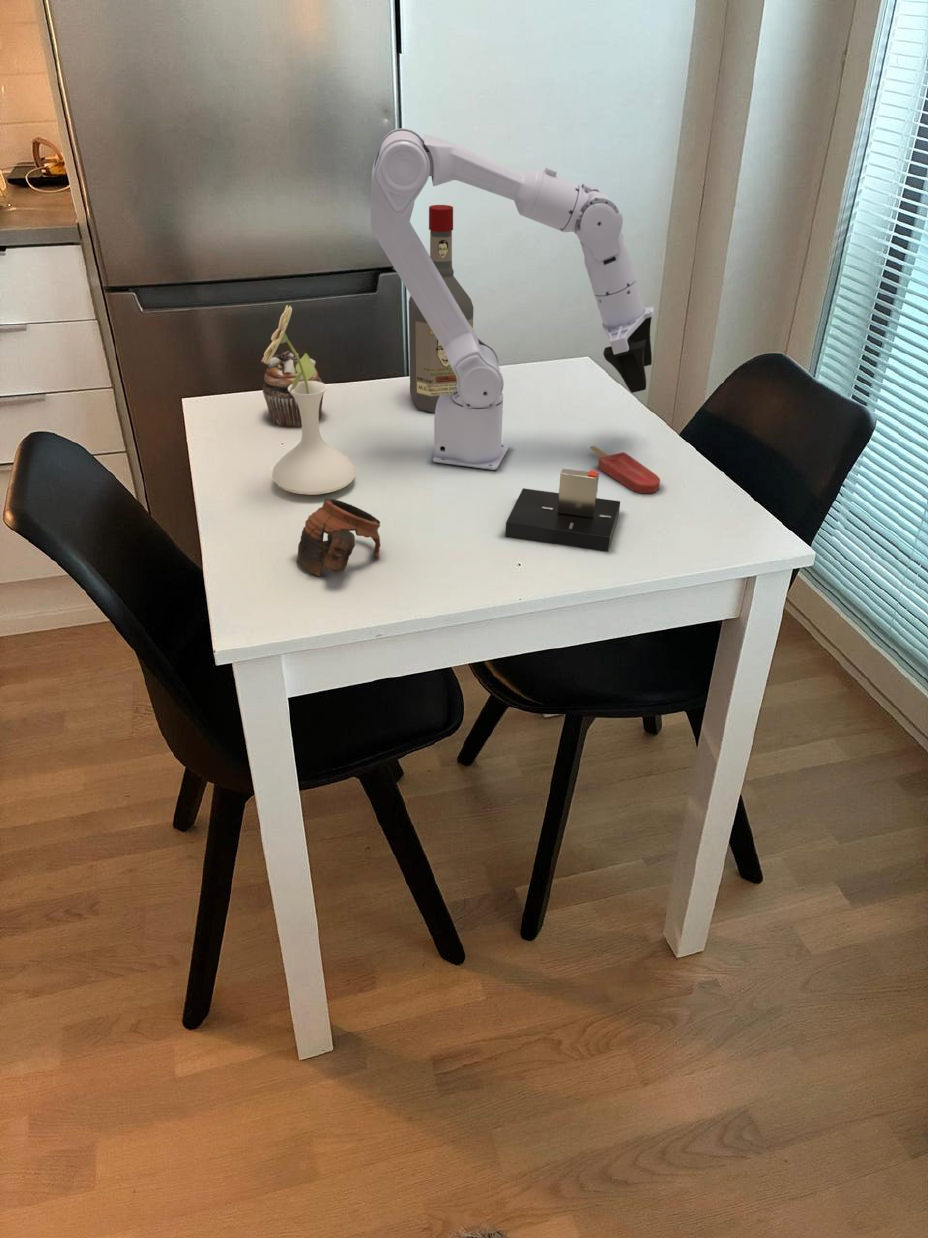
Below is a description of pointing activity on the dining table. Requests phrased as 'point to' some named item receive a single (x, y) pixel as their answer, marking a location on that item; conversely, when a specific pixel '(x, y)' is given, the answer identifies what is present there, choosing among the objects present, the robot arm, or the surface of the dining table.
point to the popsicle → (628, 471)
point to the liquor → (425, 350)
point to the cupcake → (284, 389)
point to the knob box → (561, 521)
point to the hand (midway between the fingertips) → (641, 377)
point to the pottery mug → (334, 536)
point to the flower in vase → (308, 433)
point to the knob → (578, 492)
